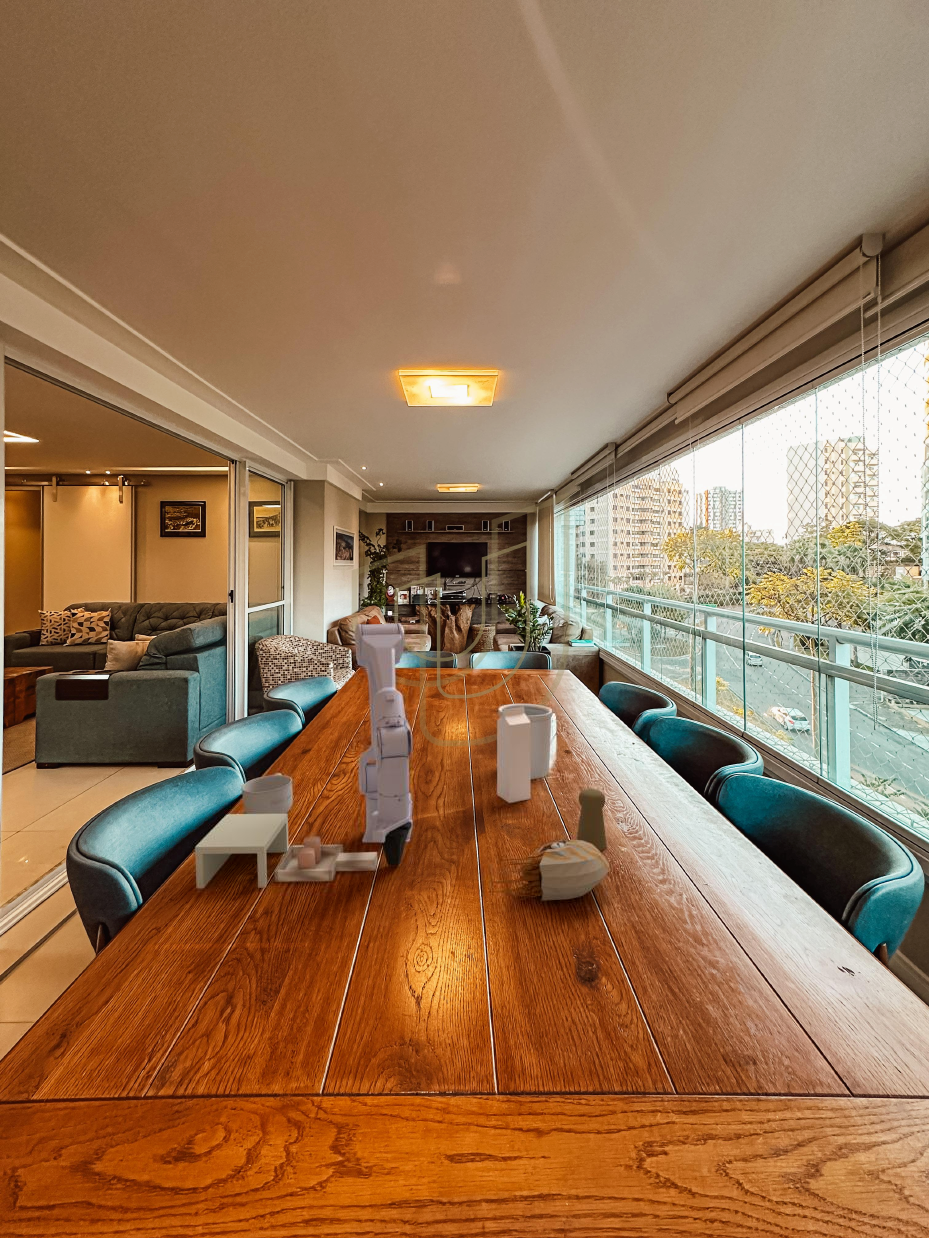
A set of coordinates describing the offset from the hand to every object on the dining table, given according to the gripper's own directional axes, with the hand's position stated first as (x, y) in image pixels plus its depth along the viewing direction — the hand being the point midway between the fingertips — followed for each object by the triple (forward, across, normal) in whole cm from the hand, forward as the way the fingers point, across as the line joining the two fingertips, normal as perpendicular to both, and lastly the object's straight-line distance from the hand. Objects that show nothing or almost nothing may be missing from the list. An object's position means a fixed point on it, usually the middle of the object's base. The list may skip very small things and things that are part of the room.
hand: (394, 863), depth 108 cm
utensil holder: (+1, -60, +15) cm, 62 cm away
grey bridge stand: (+1, +7, -26) cm, 27 cm away
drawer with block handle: (+1, +3, -11) cm, 12 cm away
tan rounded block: (0, +6, -14) cm, 15 cm away
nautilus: (+1, 0, +28) cm, 28 cm away
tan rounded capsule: (0, +2, -15) cm, 15 cm away
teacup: (+1, -17, -36) cm, 40 cm away
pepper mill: (+1, -19, +35) cm, 40 cm away
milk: (+1, -41, +15) cm, 43 cm away
